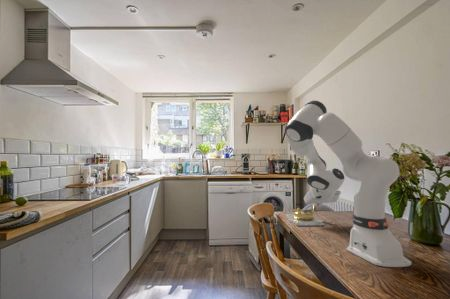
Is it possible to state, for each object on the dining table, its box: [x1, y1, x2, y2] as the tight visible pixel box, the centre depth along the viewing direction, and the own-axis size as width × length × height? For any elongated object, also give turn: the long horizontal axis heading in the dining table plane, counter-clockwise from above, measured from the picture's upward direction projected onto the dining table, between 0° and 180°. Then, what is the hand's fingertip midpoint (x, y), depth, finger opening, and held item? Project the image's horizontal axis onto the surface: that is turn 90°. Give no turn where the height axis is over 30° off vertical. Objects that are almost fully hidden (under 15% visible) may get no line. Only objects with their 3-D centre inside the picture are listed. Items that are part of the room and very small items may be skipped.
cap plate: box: [285, 213, 324, 227], centre depth 144 cm, size 20×15×2 cm
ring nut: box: [292, 204, 318, 220], centre depth 145 cm, size 12×15×14 cm
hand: (316, 205), depth 145 cm, fingers closed, pressing on ring nut
